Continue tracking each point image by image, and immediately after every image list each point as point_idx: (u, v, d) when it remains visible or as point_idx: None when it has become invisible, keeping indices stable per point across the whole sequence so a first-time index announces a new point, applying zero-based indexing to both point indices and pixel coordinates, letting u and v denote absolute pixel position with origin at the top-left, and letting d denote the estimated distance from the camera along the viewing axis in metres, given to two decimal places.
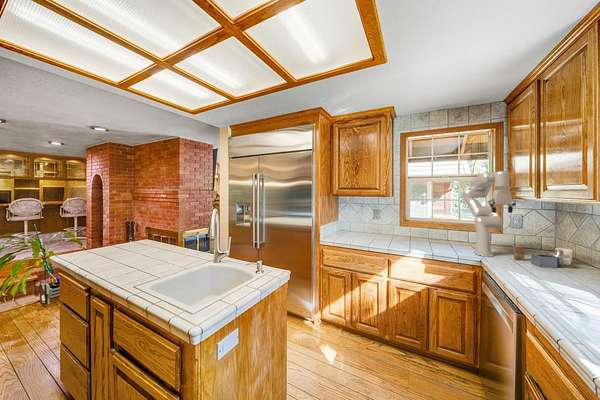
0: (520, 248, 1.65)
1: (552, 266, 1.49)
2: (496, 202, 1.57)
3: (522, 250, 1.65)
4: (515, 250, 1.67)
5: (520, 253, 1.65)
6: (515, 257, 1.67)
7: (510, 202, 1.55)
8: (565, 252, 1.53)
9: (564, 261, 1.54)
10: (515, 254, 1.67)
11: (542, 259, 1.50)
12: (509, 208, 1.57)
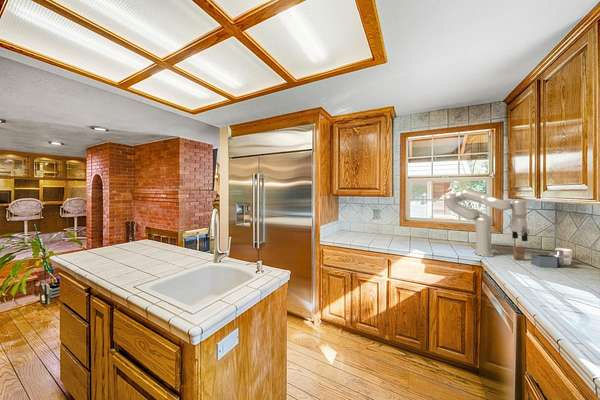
0: (520, 248, 1.65)
1: (552, 266, 1.49)
2: None
3: (522, 250, 1.65)
4: (515, 250, 1.67)
5: (520, 253, 1.65)
6: (515, 257, 1.67)
7: None
8: (565, 252, 1.53)
9: (564, 261, 1.54)
10: (515, 254, 1.67)
11: (542, 259, 1.50)
12: (515, 234, 1.70)
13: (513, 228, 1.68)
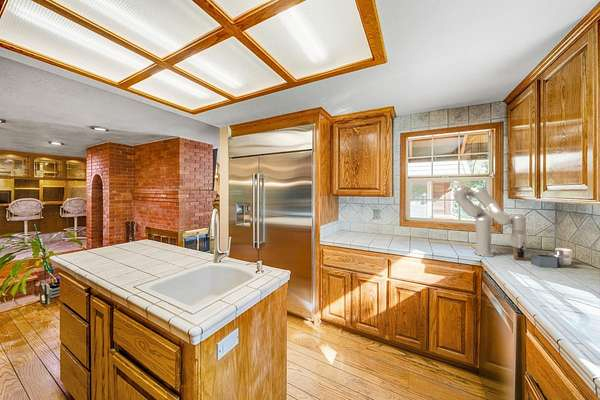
0: None
1: (552, 266, 1.49)
2: (526, 246, 1.62)
3: None
4: (515, 250, 1.67)
5: None
6: (515, 257, 1.67)
7: None
8: (565, 252, 1.53)
9: (564, 261, 1.54)
10: (515, 254, 1.67)
11: (542, 259, 1.50)
12: None
13: (512, 243, 1.69)
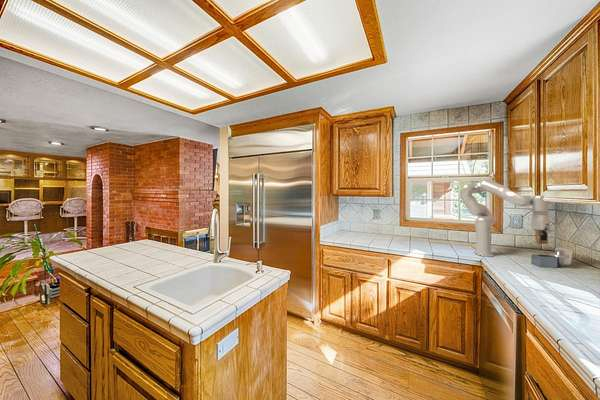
0: None
1: (552, 266, 1.49)
2: None
3: None
4: (537, 233, 1.54)
5: None
6: (537, 240, 1.54)
7: None
8: (565, 252, 1.53)
9: (564, 261, 1.54)
10: (537, 237, 1.54)
11: (542, 259, 1.50)
12: None
13: (534, 225, 1.56)
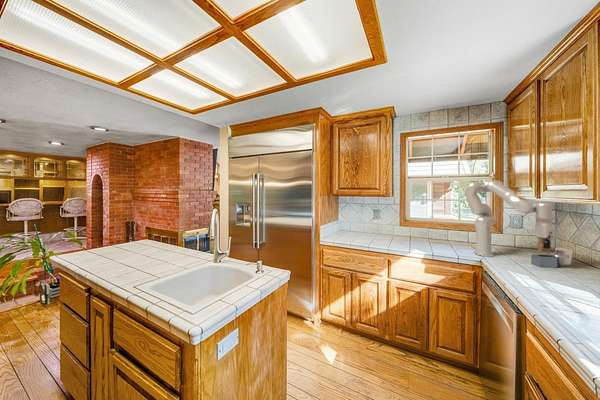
0: None
1: (552, 266, 1.49)
2: None
3: None
4: (540, 240, 1.52)
5: None
6: (540, 248, 1.52)
7: None
8: (565, 252, 1.53)
9: (564, 261, 1.54)
10: (540, 245, 1.52)
11: (542, 259, 1.50)
12: None
13: (537, 233, 1.54)
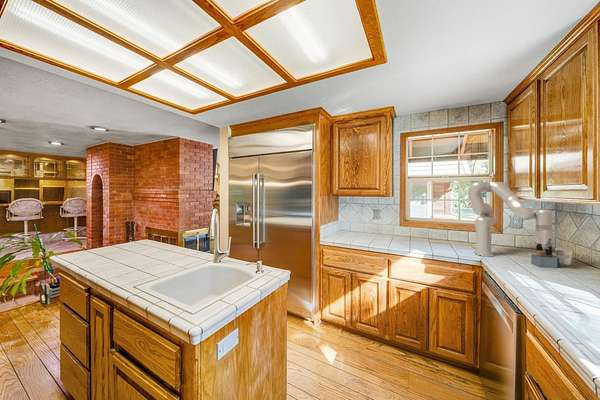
0: (545, 253, 1.52)
1: (552, 266, 1.49)
2: None
3: (547, 255, 1.51)
4: (539, 255, 1.53)
5: None
6: None
7: None
8: (565, 252, 1.53)
9: (564, 261, 1.54)
10: None
11: (542, 259, 1.50)
12: (539, 247, 1.56)
13: (537, 240, 1.55)
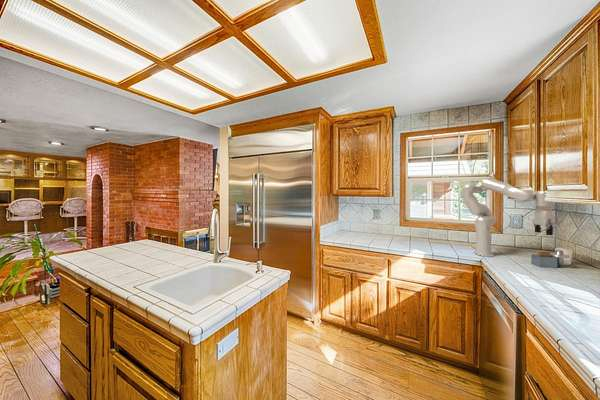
0: (545, 253, 1.51)
1: (552, 266, 1.49)
2: None
3: (547, 255, 1.51)
4: (539, 255, 1.53)
5: None
6: None
7: None
8: (565, 252, 1.53)
9: (564, 261, 1.54)
10: None
11: (542, 259, 1.50)
12: (538, 228, 1.57)
13: (536, 221, 1.54)
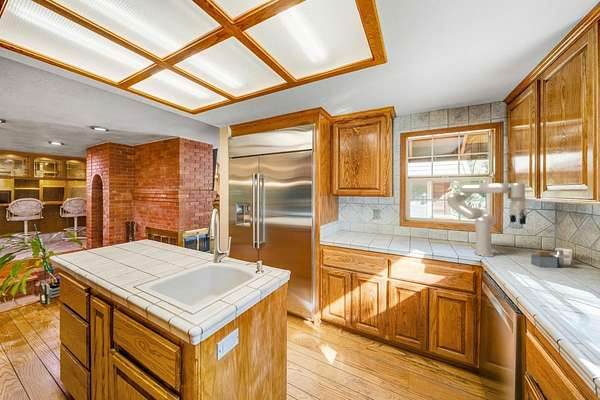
0: (545, 253, 1.51)
1: (552, 266, 1.49)
2: None
3: (547, 255, 1.51)
4: (539, 255, 1.53)
5: None
6: None
7: None
8: (565, 252, 1.53)
9: (564, 261, 1.54)
10: None
11: (542, 259, 1.50)
12: (513, 218, 1.67)
13: (511, 211, 1.65)
